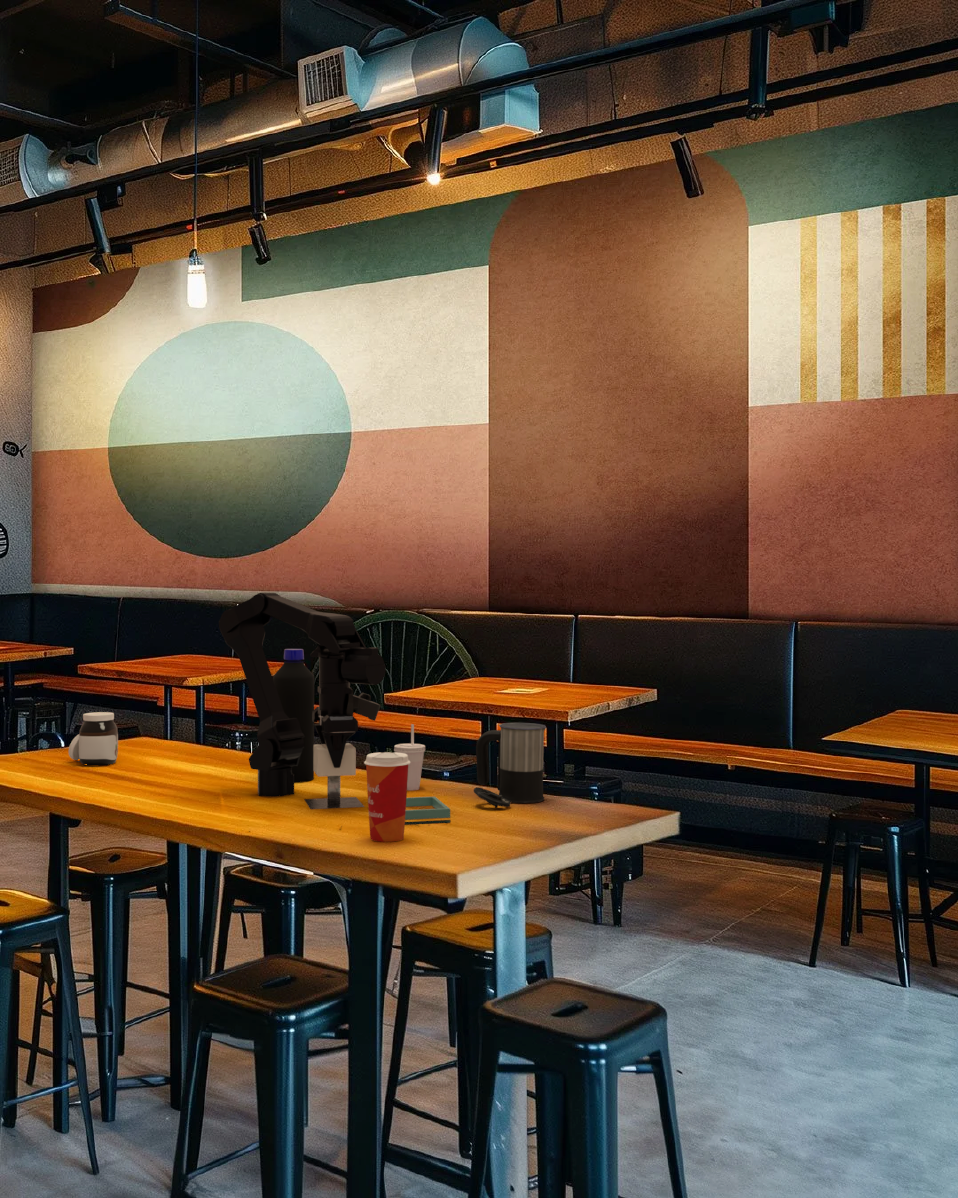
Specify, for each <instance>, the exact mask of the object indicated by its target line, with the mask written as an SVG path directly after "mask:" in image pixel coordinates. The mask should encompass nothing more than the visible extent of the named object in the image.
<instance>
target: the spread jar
mask: <svg viewBox="0 0 958 1198" xmlns="http://www.w3.org/2000/svg"><path fill="white" fill-rule="evenodd" d="M82 719H83V722H82V724H81V727H80V729H79V734H77V735H76V736H74V738H73V739H72V740H71V743H70V744H69V746H68V756H69V758H71V759H72V760H73V761H75V760H78V759H80V761H79V762H80V763H81V764H82V765H83V764H87V765H106V766H109V765H108V764H112V765H114V764H115V763H116V761H117V758H118V755H119V749H118V748H119V732H118V730H119V729H118V727H117V724H116V723H115V721H114V719H115V713H114V712H109V711H106V712H105V711H104V712H103V711H99V712H97V711H95V712H87V713H83V715H82ZM113 763H114V764H113Z"/></svg>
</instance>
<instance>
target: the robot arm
mask: <svg viewBox="0 0 958 1198" xmlns="http://www.w3.org/2000/svg"><path fill="white" fill-rule="evenodd" d="M272 619H276V620H278V621H280V622H283V623H286V624H288V625H290V626H293V627H295V628H297V629H300V630H301V631H303V632H305V633H306V635H307V636H308V637H307V638H309V639H310V640H312V641H313V642H314V643H316V644H318V645H317V647H316V648H315V649H314V650H313V651H312V652H311V653H310V657H311V658H318V659H319V662H318V663H319V666H318V668H319V669H318V673H319V674H318V676H319V677H318V681H319V683H318V685H319V686H317V693H318V694H319V695H318V698H319V699H318V706H316V707H314V710H313V711H312V721H313V722H314V729H315V731H316V732H317V735H318V738H319V740H320V743H321V744H326V746H327V749H328V752H329V755H330V758H331V760H332V763H333V766H334V768H340V765H341V761H342V757H343V753H344V749H345V745H346V743H347V741H349V739H350V738H351V737H352V736H354V735H355V734H356V732H359V720H358V719H357V718H355V717H354V714H357V715H359V716H363V717H366V718H368V719H369V720H371V721H376V719H377V717H378V714H379V711H380V708H381V704H379V703H377V702H375V701H372V697H371V695H370V694H367V693H364V692H361V693H360V694H359V695H358V696H357V695H354V690H353V688H352V687H350V686H351V684H360V685H373V686H376V685H378V684H380V683H382V681H383V680H384V679H385V675H386V672H387V671H386V670H387V668H386V667H387V665H386V664H385V661H384V658H383V657H382V656H381V655H380V654H379V648H378V647H367V646H366V645H365V643H364V641H363V638H362V637H361V635H360V633H359V631H358V630H357V629H356V626H355V624H354V619H353V618H352V617H351V616H349V615H345V614H342V613H341V614H340V613H331V612H324V611H323V612H322V611H318V610H315V609H312V608H310V607H308V606H305V605H302V604H300V603H298V602H295V601H293V600H290V599H288V598H287V597H284V596H281V595H279V594H278V593H276V592H259V593H258V592H257V593H256V594H254V595H253V596H252V597H251V598H249V599H247V600H245V601H243V602H241V603H239V604H237V605H235V606H233V607H232V608H228V609H224V611H223V612H222V614H221V616H220V618H219V620H218V627H219V631H220V633H221V635H222V637H223V639H224V641H225V644H226V645H227V646H228V647H230V648H231V649H232V650H233V652H234V653H236V654H237V656H238V659H239V662H240V665H241V667H242V671H243V674H244V677H245V681H246V683H247V686H248V690H249V692H250V695H251V698H252V701H253V703H254V707H255V710H256V712H257V715H258V718H259V725H258V728H257V729H258V730H257V735H256V738H257V742H258V746H257V747H256V748H255V749H254V751H253V752H252V754H251V755H250V756H249V758H248V762H249V766H250V769H251V770H257V794H258V797H270V798H271V797H272V798H276V797H285V796H291V795H295V783H294V775H293V773H291V767H290V766H298V763H299V760H300V756H301V753H302V750H303V748H304V740H303V737H305V736H304V734H303V733H302V731H301V728H300V723H299V721H298V719H297V718H292V719H290V718H289V717H288V716H287V715H286V714H285V713H284V711H283V708H282V705H281V702H280V699H279V696H278V693H277V690H276V687H275V684H274V681H273V675H272V672H271V669H270V667H269V664H268V660H267V657H266V655H265V651H264V648H263V646H264V640H265V635H266V631H265V626H266V625H267V624H269V623H270V622H271V621H272Z"/></svg>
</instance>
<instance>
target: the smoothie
mask: <svg viewBox="0 0 958 1198" xmlns="http://www.w3.org/2000/svg"><path fill="white" fill-rule="evenodd" d="M393 751H394V752H397V753H404V754H407V755H408V760H409V761H410V764H408V780H407V791H417V790H420V784H421V780H422V779H421V776H422V770H423V763H424V754H425V751H426V745H425V744H421V743H415V724H413V723H411V724H410V743H398V744H395V745H394V748H393Z"/></svg>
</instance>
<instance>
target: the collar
mask: <svg viewBox="0 0 958 1198" xmlns="http://www.w3.org/2000/svg"><path fill="white" fill-rule="evenodd" d="M356 750H357V749H356V747H355V746H354V745H353V744H352V743H350V742H346V745H345V749H344V753H343V757H342V761H341V765H340V768H334V766H333V763H332V760H331V758H330V755H329V752H328V749H327V746H326V744H322V743H321V744H320V743H317V744H315V743H314V755H313V771H314V774H316V776H317V777H328V776H340V777H341V776H356V775H357V768H356V767H357V758H356V757H357V752H356Z"/></svg>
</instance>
